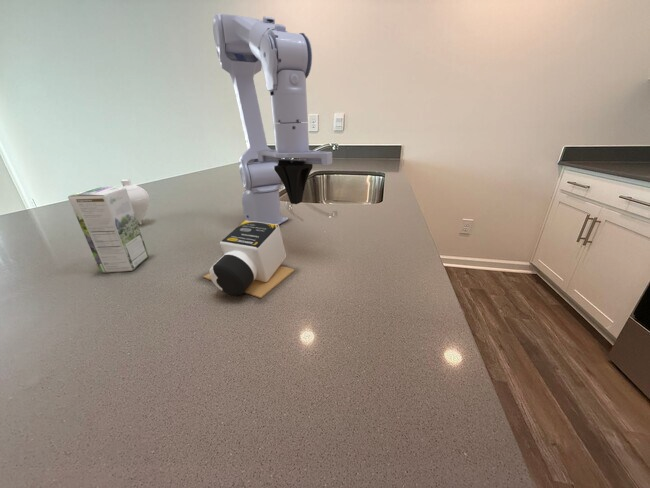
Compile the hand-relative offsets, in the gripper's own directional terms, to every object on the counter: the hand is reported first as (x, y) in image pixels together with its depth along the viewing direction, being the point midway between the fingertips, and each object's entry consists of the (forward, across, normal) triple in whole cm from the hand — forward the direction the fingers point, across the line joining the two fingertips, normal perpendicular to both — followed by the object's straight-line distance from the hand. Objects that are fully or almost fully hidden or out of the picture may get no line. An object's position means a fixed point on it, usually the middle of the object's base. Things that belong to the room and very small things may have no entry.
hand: (296, 202), depth 49 cm
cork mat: (+10, -3, -11) cm, 16 cm away
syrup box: (+11, -27, -20) cm, 35 cm away
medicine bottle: (+5, -2, -7) cm, 9 cm away
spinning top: (+11, -48, -6) cm, 50 cm away
